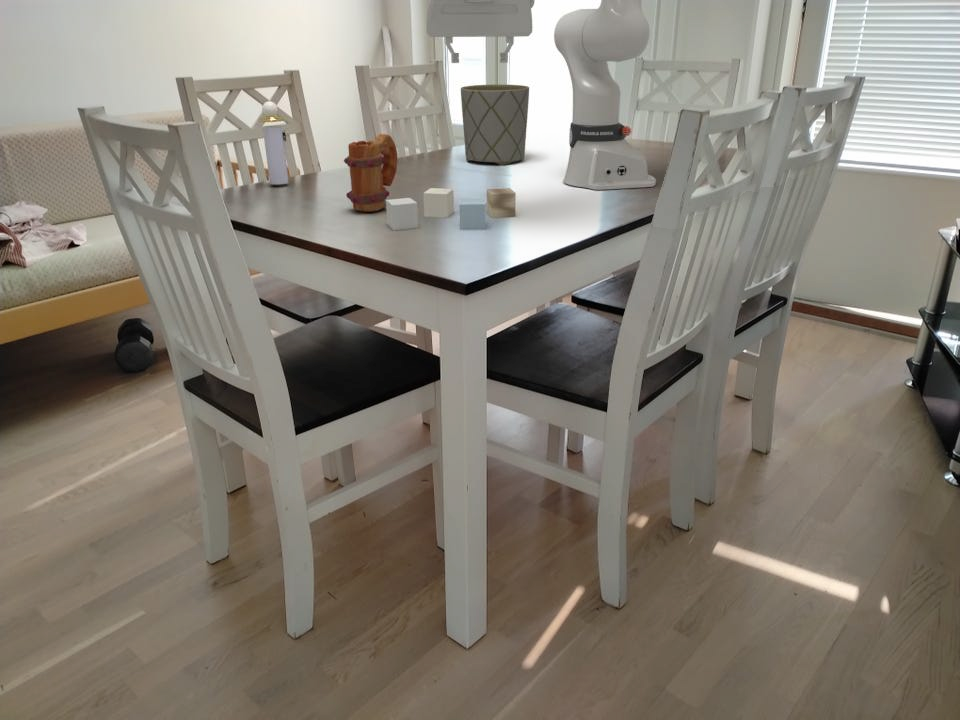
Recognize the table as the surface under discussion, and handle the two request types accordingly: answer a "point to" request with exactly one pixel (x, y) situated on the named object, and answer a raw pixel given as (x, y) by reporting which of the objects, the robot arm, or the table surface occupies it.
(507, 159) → the planter
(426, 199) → the cream cube
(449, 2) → the robot arm
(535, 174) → the table surface
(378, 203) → the mug
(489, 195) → the birch cube
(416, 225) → the grey cube
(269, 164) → the perfume bottle
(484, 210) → the pale blue cube
